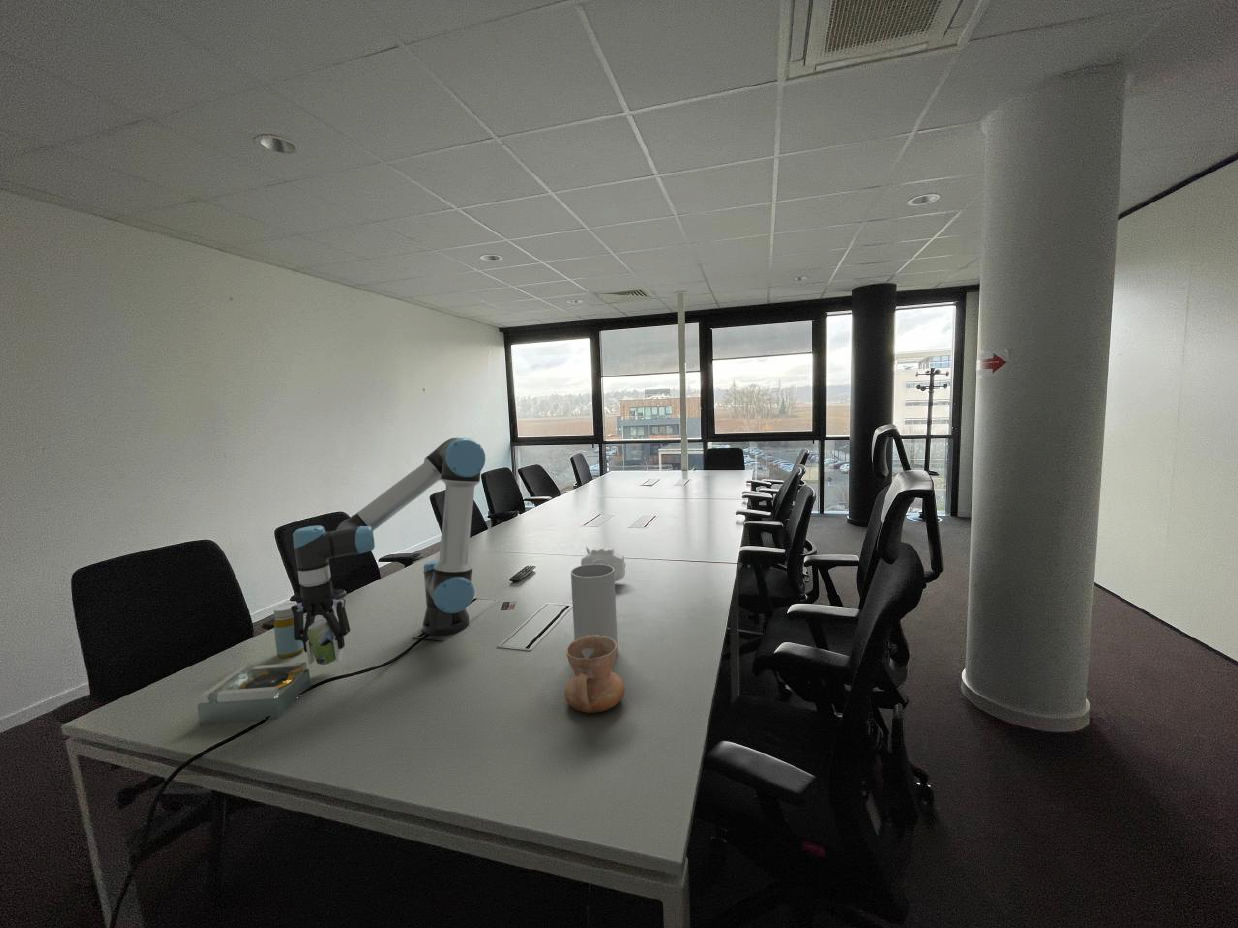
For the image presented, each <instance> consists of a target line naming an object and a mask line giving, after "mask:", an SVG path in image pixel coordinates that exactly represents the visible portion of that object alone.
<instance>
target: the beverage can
mask: <svg viewBox="0 0 1238 928" xmlns="http://www.w3.org/2000/svg"><path fill="white" fill-rule="evenodd" d="M307 635H308V638H309V641H310V644H311V647H312V650H313V653H314V656H315V659H316V661H315V662H316V664H317V665H323V666H326V665H329V664H332V663H334V662H336V658H335V651H334V643H333V639H334V638H336V637H335V635H334V633H333V631H332V630H331V628H330V626H329V624H328V622H327V620H326V619H321V620H317V621H314V623H312V625H310V626H309V627H308V631H307Z"/></svg>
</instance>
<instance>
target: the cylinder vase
mask: <svg viewBox="0 0 1238 928" xmlns="http://www.w3.org/2000/svg"><path fill="white" fill-rule="evenodd" d="M570 582H571V584H570V585H571V600H572V619H573V637H574V640H573V641H575V640H577V639H579V638H582V637H585V636H591V635H599V636H600V637H602V636H606V637H610V638H612V639H613V640H615V641H616V643H617V654H616V656H617V655H618V653H619V641H618V639H619V638H618V621H617V620H618V619H617V597H616V581H615V574H614V568H613V567H612V566H609V565H604V564H589V565H583V566H581V565H579V566H576V567H574V568H572V569H571V570H570ZM594 650H595V649H589V648H586V649H583V650H582V653H583V656H584V657H585V659H588V658H589V657H590V655H591V653H592V652H593V651H594Z"/></svg>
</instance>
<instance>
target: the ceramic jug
mask: <svg viewBox="0 0 1238 928" xmlns="http://www.w3.org/2000/svg"><path fill="white" fill-rule="evenodd" d="M586 648H589V649H595V650H594V651H593V652H592V653H591V655H590V657H589V658H588V659H585V657H584V656H583V653H582V650H583V649H586ZM565 652H566V657H567V660H568V663H569V665H570V668H571V669H572V671H573V673H574V675H575V676H572V677H571V679H570V680H568V682H567V684H566V685H565V689H564V697H565V700H566V702H567V704H568V705H569V706H570V707H571V708H573V709H574V710H575V711H578V712H582V713H586V714H588V713H589V714H594V713H595V714H597V713H603V712H606V711H607V710H610V709H613V708H614V707H615V706H617V705H618V704H619V703H620V702H621V700H622V698H623V697H624V694H625V690H626V688H625V684H624V680H623V679H622V678H621V676H620V675H619V674H617V673H616V672H614V671H613V669H614V666H615V663H616V658H617V655H618V653H617V643H616V641H615V640H613V639H612V638H610V637H606V636H602V637H600V636H599V635H591V636H585V637H582V638H579V639H577V640H572V641H571V642H570V643H569V644H568V645H567V647H566V650H565ZM616 654H617V655H616Z"/></svg>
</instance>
